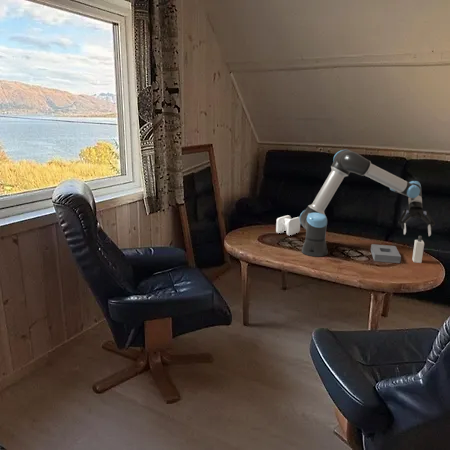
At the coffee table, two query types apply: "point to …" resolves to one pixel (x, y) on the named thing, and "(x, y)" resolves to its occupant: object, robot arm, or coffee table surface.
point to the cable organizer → (288, 225)
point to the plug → (418, 250)
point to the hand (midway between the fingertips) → (417, 234)
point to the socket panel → (385, 253)
